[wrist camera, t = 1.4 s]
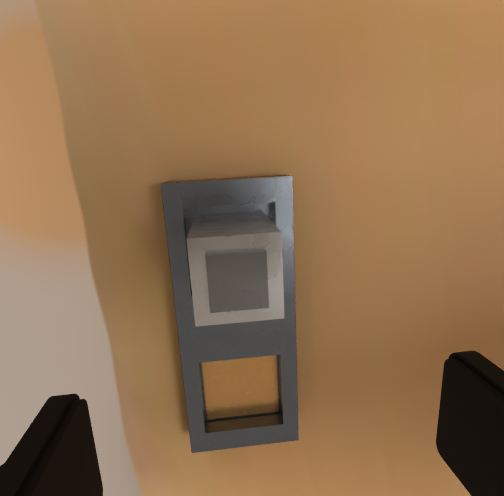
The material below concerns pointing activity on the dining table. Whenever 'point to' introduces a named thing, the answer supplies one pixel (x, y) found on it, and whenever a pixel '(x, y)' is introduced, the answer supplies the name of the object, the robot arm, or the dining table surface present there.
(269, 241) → the block
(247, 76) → the dining table surface
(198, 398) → the rail
